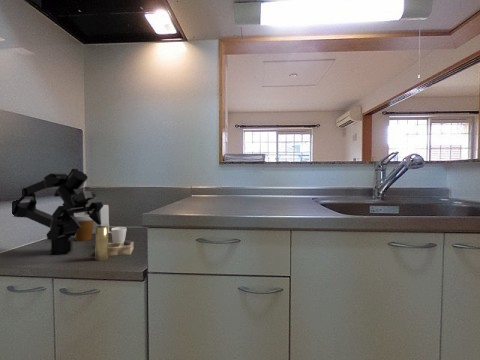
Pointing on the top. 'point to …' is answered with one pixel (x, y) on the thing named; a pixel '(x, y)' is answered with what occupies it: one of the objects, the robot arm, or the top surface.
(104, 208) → the skincare box
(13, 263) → the top surface
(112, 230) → the cup
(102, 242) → the tan piece
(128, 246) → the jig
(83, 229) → the disposable coffee cup
